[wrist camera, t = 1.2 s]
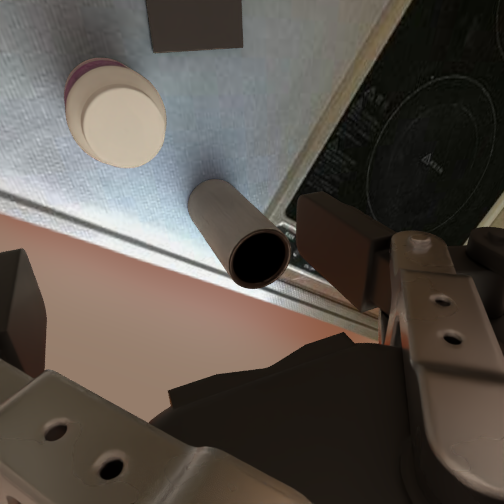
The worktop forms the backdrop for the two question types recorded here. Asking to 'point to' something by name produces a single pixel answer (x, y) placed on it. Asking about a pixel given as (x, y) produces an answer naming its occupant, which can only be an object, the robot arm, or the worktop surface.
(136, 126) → the pill bottle
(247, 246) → the grey hollow cylinder
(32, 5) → the worktop surface
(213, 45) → the metal coaster
